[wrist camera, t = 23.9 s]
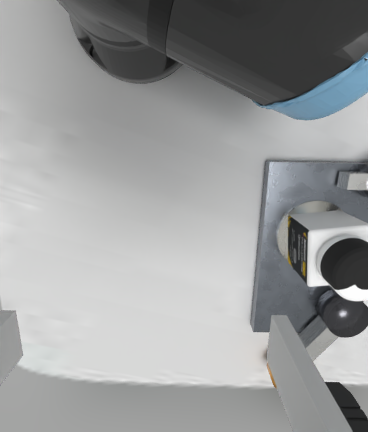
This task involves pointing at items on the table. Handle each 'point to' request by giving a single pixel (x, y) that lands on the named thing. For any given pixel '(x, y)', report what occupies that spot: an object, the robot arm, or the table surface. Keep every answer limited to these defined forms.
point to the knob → (355, 180)
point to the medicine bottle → (330, 251)
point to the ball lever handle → (332, 323)
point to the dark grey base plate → (278, 235)
